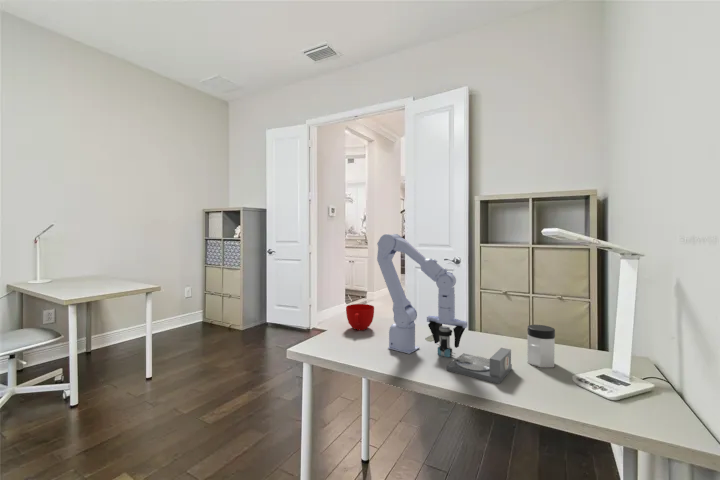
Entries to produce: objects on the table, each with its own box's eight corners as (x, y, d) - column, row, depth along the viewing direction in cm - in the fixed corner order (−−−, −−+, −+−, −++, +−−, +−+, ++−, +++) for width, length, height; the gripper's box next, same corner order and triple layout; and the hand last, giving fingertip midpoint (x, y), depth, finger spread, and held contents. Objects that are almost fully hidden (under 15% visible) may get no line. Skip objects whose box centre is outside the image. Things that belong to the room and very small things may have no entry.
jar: (547, 358, 118) (547, 324, 117) (561, 368, 109) (561, 331, 109) (521, 358, 118) (521, 324, 117) (533, 367, 110) (533, 331, 109)
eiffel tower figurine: (436, 333, 149) (437, 303, 149) (458, 338, 143) (458, 306, 142) (420, 342, 138) (420, 309, 137) (442, 347, 131) (443, 313, 131)
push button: (458, 355, 120) (458, 328, 120) (451, 360, 116) (451, 331, 116) (441, 351, 125) (441, 324, 125) (434, 355, 121) (434, 327, 121)
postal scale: (446, 370, 108) (447, 350, 108) (463, 357, 119) (463, 339, 119) (500, 384, 98) (501, 362, 97) (513, 369, 109) (513, 349, 108)
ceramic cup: (341, 334, 146) (341, 311, 146) (349, 324, 163) (349, 303, 163) (371, 335, 144) (371, 312, 144) (375, 325, 161) (375, 304, 160)
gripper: (470, 307, 119) (470, 345, 119) (432, 302, 128) (432, 338, 128) (463, 311, 113) (463, 351, 114) (424, 305, 122) (424, 342, 123)
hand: (446, 344), depth 120 cm, fingers open, 7 cm apart
